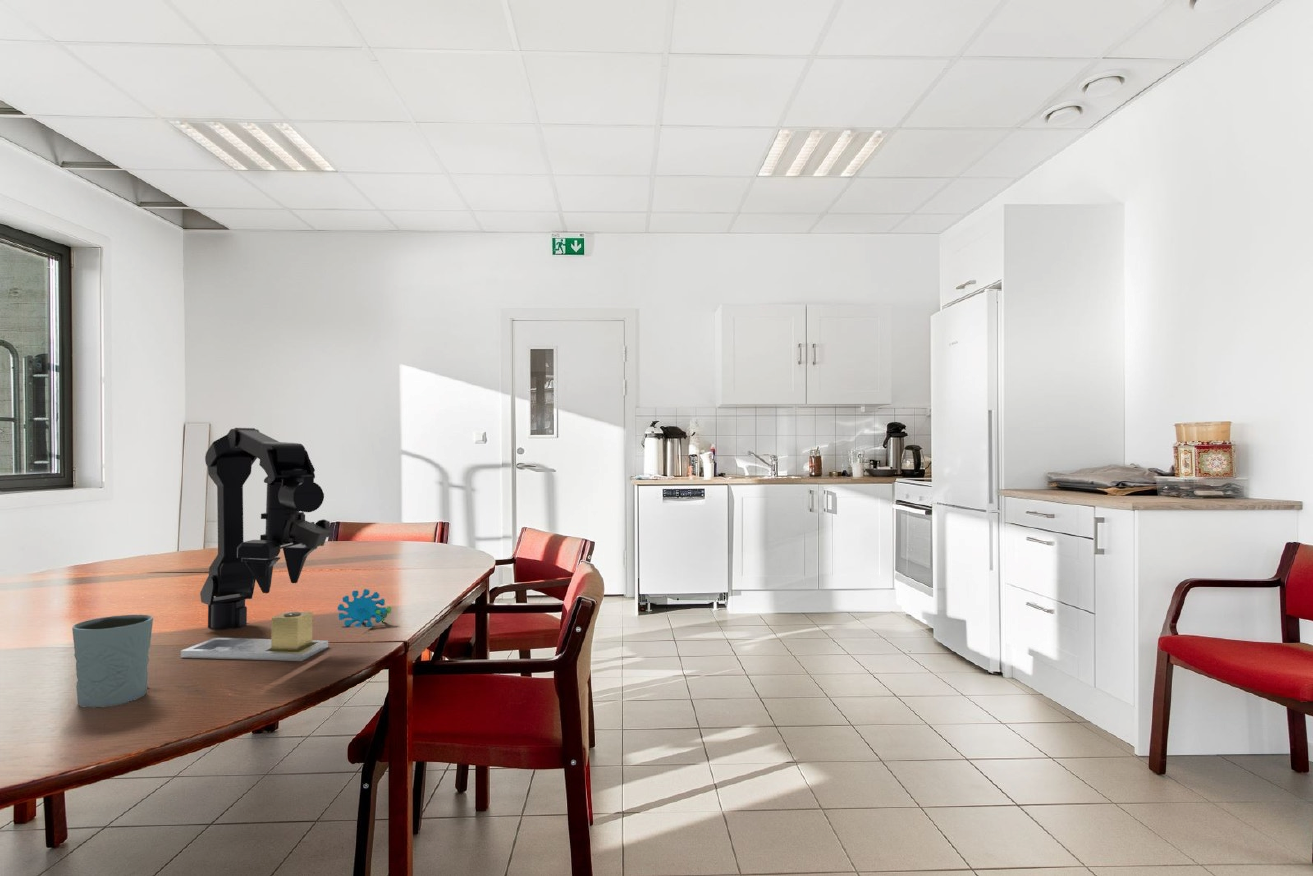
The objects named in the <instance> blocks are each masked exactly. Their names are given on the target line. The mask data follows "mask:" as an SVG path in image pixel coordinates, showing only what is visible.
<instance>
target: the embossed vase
mask: <svg viewBox="0 0 1313 876" xmlns="http://www.w3.org/2000/svg"><path fill="white" fill-rule="evenodd" d="M153 621H154V617H153V615H147V614H126V615H125V614H122V615H112V616H104V617H99V618H93V619H88V620H84V621H81V622H78V623H76V624H74V625H73V626H72V629H71V630H72V641H73V646H74V647H73V648H74V650H73V651H74V659H75V661H76V662H75V669H76V670H75V671H76V679H77V681H76V686H75V687H76V696H77V705H78V706H79V705H81V706H85V707H84V708H86V707H101V708H106V707H105V706H109V707H112V706H111V705H115V706H119V704H120V705H124V704H127V702H128V703H130V702H129V701H131V702H133V701H132V700H134V701H136V699H137V700H139V699H140V697H141V698H142V696H143V697H144V696H145V695H146V693H147V687H148V679H149V678H148V677H149V673H148V665H149V661H150V658H149V653H150V651H149V650H150V647H151V642H152V641H151V640H152V631H153V624H154V623H153ZM138 698H139V699H138ZM123 703H124V704H123ZM81 706H80V707H81ZM102 706H104V707H102Z"/></svg>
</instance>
